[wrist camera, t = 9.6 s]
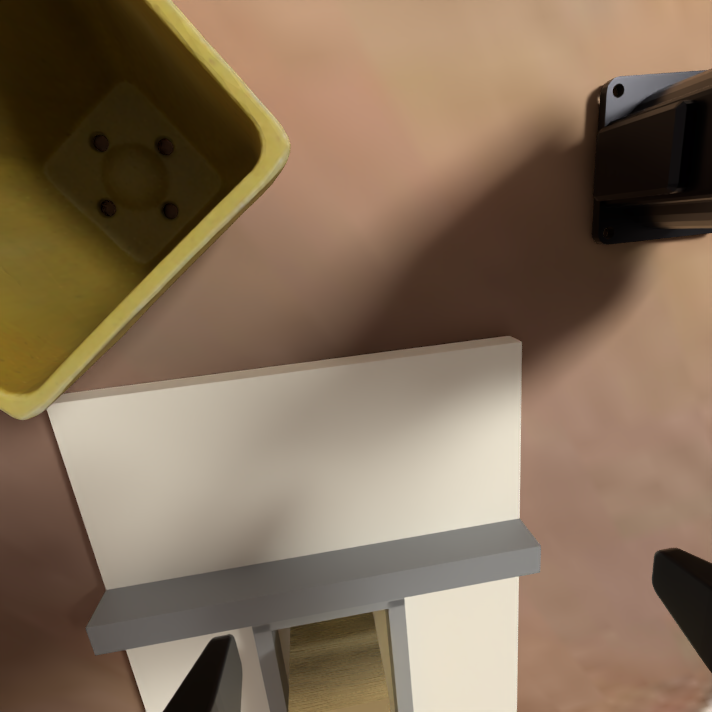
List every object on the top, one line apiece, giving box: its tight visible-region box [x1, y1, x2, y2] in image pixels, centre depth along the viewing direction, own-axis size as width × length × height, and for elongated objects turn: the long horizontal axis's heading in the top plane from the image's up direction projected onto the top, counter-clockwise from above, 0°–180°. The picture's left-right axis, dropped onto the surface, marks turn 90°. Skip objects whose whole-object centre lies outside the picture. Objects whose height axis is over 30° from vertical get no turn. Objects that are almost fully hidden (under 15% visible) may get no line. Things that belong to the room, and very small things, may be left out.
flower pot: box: [0, 0, 290, 420], centre depth 12 cm, size 9×9×9 cm
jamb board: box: [47, 336, 541, 712], centre depth 21 cm, size 20×23×3 cm
